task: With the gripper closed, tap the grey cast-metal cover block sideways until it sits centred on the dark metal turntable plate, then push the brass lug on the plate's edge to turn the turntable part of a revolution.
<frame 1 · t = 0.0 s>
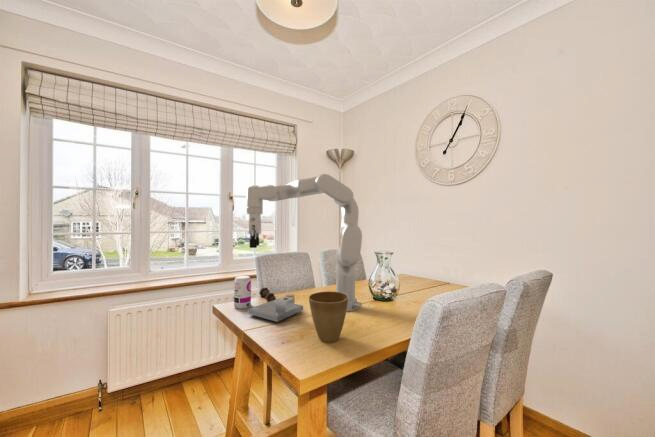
hand: (254, 246, 137), 31 cm above the table, tool pointing down, fingers open, 9 cm apart
turntable base: (276, 314, 132), on the table
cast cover: (285, 309, 129), point 3 cm above the table, touching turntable
bolt: (268, 300, 155), on the table
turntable: (278, 306, 133), point 4 cm above the table, hinge at 0.0°, touching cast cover
supplement can: (242, 307, 143), on the table
plant pot: (328, 338, 107), on the table
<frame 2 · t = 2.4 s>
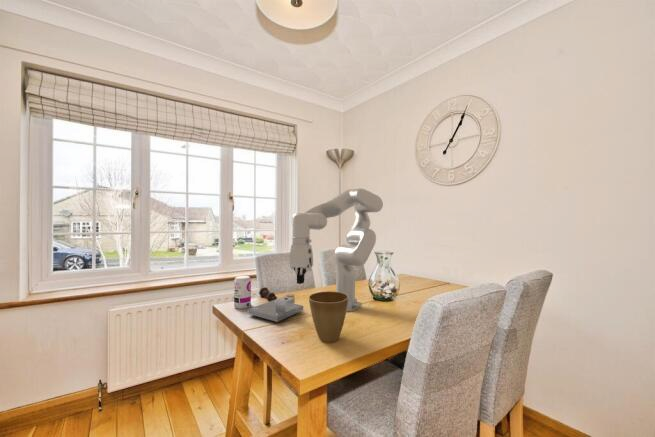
hand: (300, 283, 124), 17 cm above the table, tool pointing down, fingers closed
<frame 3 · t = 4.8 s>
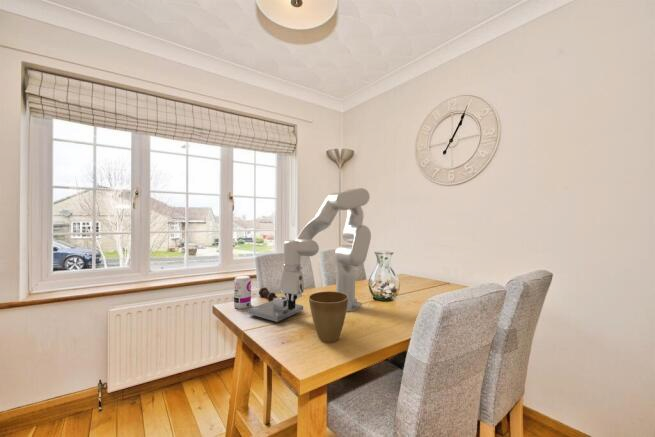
hand: (291, 308, 127), 5 cm above the table, tool pointing down, fingers closed
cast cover: (282, 309, 130), point 3 cm above the table, touching gripper
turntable: (278, 306, 133), point 4 cm above the table, hinge at 0.0°
everything else where it was.
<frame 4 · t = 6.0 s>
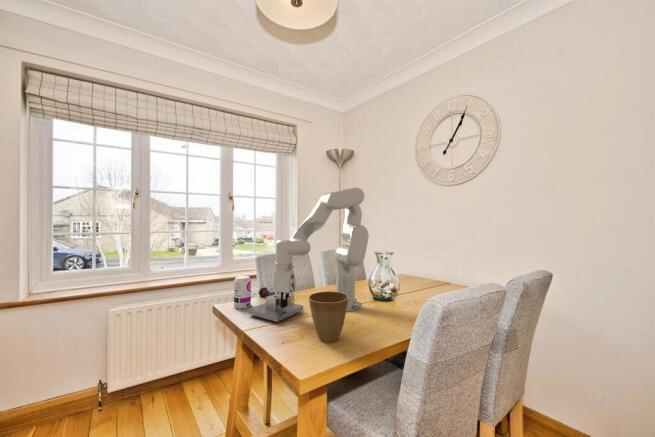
hand: (283, 306, 129), 5 cm above the table, tool pointing down, fingers closed
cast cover: (275, 307, 132), point 3 cm above the table, touching gripper, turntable
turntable: (278, 306, 133), point 4 cm above the table, hinge at 0.0°, touching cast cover
everything else where it was.
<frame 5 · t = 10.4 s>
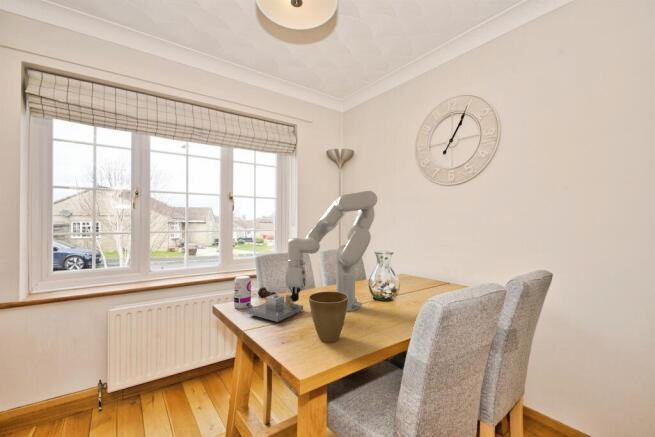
hand: (295, 300, 138), 5 cm above the table, tool pointing down, fingers closed
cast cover: (275, 307, 132), point 3 cm above the table, touching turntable
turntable: (278, 306, 133), point 4 cm above the table, hinge at 0.8°, touching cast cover, gripper
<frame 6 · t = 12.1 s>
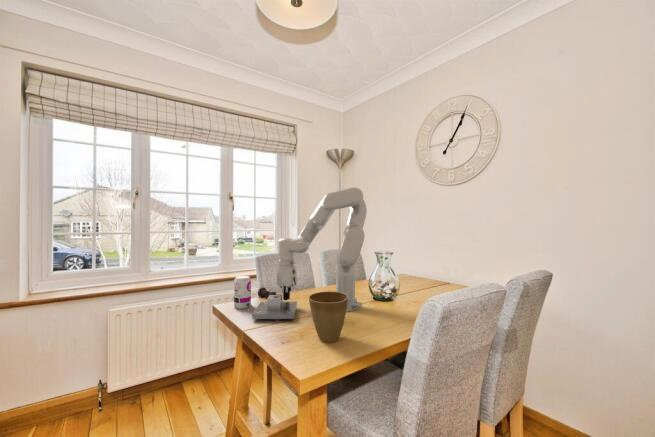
hand: (286, 299, 141), 4 cm above the table, tool pointing down, fingers closed
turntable: (276, 305, 133), point 4 cm above the table, hinge at 34.5°, touching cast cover, gripper
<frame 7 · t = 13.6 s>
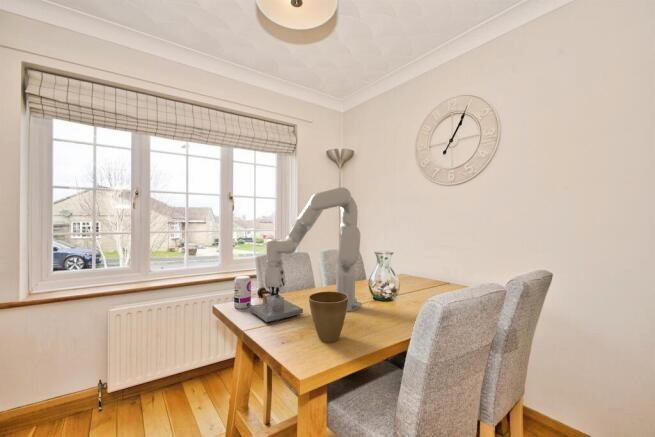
hand: (274, 300, 140), 4 cm above the table, tool pointing down, fingers closed
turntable: (274, 306, 133), point 4 cm above the table, hinge at 70.0°, touching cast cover, gripper
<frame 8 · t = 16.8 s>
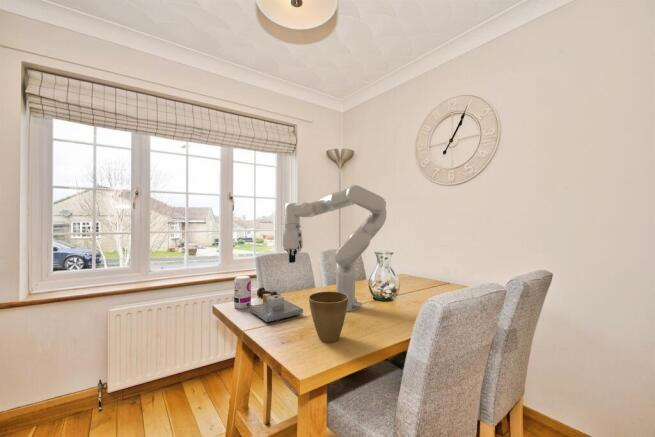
hand: (292, 262, 146), 22 cm above the table, tool pointing down, fingers closed
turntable: (274, 306, 133), point 4 cm above the table, hinge at 70.1°, touching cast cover
at the end: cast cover 0.6 cm from the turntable (horizontally); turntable at +70° (first picture: +0°); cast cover tilted 0° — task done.
